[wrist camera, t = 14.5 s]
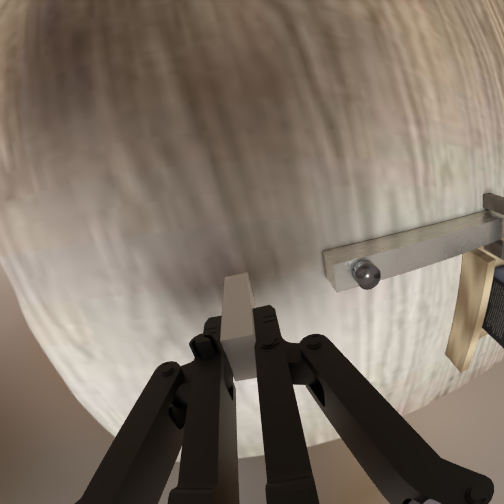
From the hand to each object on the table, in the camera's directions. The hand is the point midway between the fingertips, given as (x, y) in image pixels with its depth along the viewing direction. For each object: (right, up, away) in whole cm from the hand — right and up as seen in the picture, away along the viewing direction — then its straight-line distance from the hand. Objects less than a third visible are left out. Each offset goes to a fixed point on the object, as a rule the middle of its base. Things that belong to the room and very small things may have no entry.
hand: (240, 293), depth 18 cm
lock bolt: (+15, +4, +1) cm, 15 cm away
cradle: (+29, +1, +3) cm, 29 cm away
